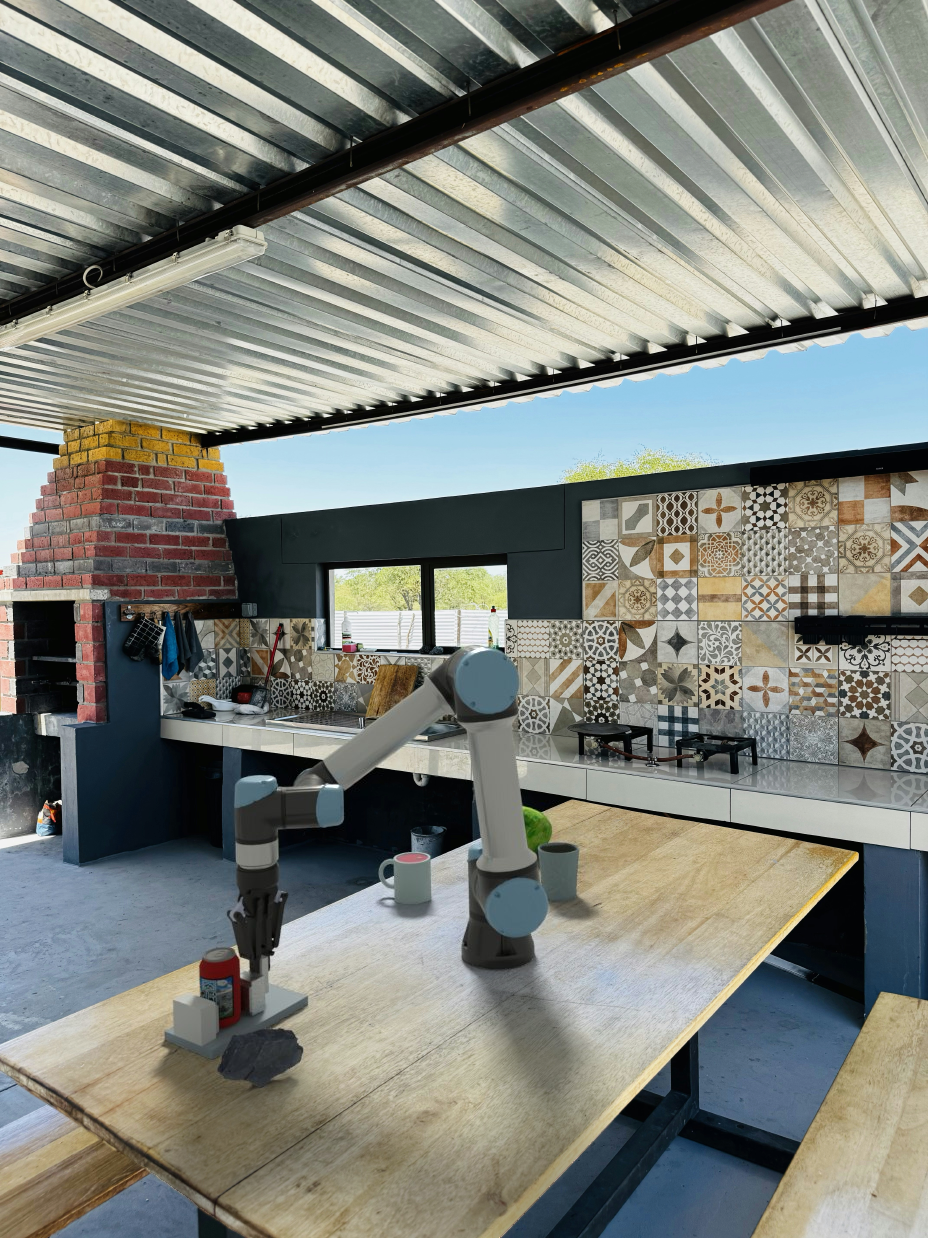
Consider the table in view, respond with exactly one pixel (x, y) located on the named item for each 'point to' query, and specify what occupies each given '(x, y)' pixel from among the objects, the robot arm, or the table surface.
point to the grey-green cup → (559, 870)
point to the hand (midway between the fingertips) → (260, 992)
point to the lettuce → (536, 828)
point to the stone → (260, 1055)
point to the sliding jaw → (252, 992)
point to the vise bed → (201, 1020)
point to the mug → (409, 877)
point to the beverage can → (222, 983)
